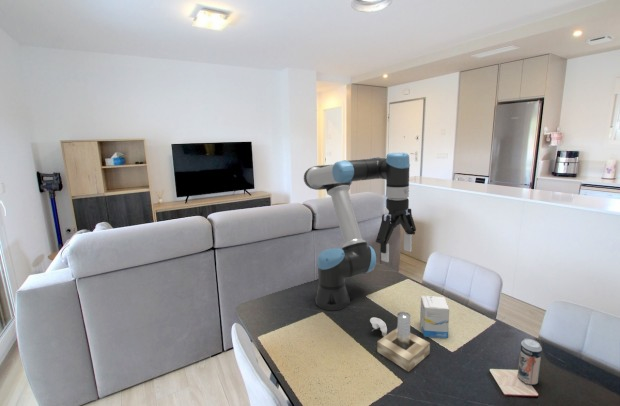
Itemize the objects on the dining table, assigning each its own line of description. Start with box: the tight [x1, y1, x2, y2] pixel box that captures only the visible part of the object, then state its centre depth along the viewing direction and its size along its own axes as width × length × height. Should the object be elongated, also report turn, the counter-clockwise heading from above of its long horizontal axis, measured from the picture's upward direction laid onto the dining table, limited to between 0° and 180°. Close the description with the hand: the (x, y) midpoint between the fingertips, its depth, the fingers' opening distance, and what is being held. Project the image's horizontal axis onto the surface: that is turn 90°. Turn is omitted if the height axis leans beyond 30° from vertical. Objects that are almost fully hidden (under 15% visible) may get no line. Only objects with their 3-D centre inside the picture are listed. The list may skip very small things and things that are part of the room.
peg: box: [396, 311, 411, 350], centre depth 98 cm, size 4×4×14 cm
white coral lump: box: [369, 317, 388, 338], centre depth 111 cm, size 8×7×6 cm
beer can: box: [517, 338, 543, 385], centre depth 85 cm, size 5×5×12 cm
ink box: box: [419, 295, 450, 339], centre depth 109 cm, size 9×8×12 cm
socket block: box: [376, 327, 431, 373], centre depth 99 cm, size 12×12×4 cm
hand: (396, 255), depth 108 cm, fingers open, 13 cm apart
